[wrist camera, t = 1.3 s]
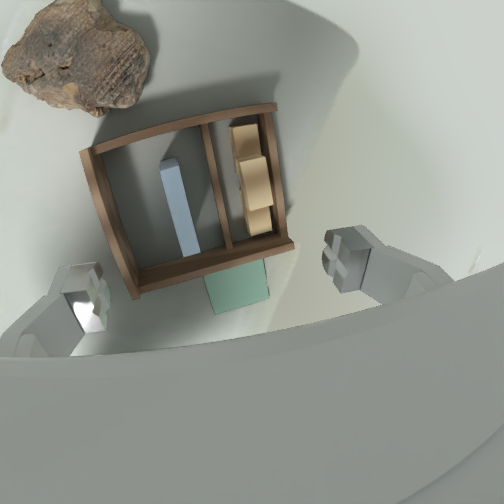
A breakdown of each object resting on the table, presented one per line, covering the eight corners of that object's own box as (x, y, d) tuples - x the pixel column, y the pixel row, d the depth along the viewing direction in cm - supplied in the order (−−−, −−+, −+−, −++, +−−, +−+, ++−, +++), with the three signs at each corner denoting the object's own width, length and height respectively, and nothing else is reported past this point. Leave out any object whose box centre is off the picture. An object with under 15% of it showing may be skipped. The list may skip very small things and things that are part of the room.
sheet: (194, 229, 38) (200, 252, 33) (179, 233, 38) (183, 257, 32) (176, 156, 34) (178, 165, 28) (160, 161, 33) (159, 171, 27)
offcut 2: (266, 223, 41) (272, 230, 39) (246, 229, 41) (251, 236, 39) (259, 183, 39) (265, 187, 36) (238, 188, 38) (243, 193, 36)
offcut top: (266, 199, 37) (273, 204, 35) (244, 205, 37) (249, 211, 34) (258, 153, 34) (265, 156, 32) (234, 159, 34) (240, 162, 32)
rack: (282, 236, 43) (297, 252, 38) (134, 277, 39) (132, 300, 34) (263, 103, 33) (279, 102, 29) (91, 146, 30) (79, 151, 25)
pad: (268, 296, 47) (269, 298, 47) (214, 313, 45) (215, 314, 45) (260, 248, 43) (261, 249, 42) (200, 265, 41) (200, 267, 41)
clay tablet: (179, 60, 28) (73, -13, 18) (181, 52, 24) (63, -26, 14) (104, 147, 31) (4, 72, 21) (95, 153, 27) (-13, 70, 16)
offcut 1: (257, 167, 37) (263, 171, 35) (235, 171, 37) (239, 175, 35) (251, 123, 35) (257, 123, 32) (228, 126, 34) (232, 127, 32)
